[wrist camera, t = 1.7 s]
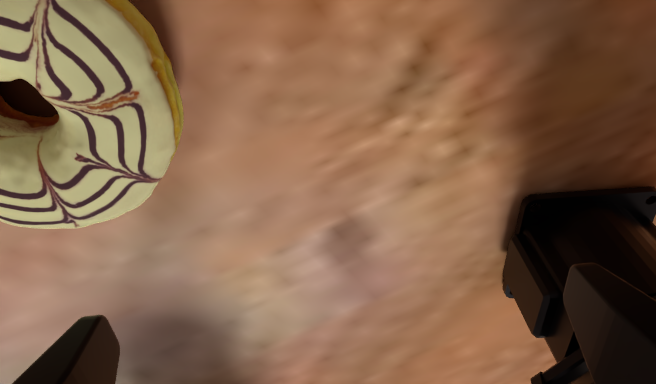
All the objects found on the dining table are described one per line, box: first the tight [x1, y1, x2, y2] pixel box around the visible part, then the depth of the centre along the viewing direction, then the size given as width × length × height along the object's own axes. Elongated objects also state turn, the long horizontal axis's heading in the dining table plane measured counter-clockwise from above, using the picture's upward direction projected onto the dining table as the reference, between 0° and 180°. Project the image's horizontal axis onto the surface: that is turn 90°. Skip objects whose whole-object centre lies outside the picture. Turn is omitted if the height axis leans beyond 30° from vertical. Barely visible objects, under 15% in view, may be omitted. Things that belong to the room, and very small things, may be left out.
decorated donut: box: [0, 0, 183, 229], centre depth 18 cm, size 10×11×4 cm
